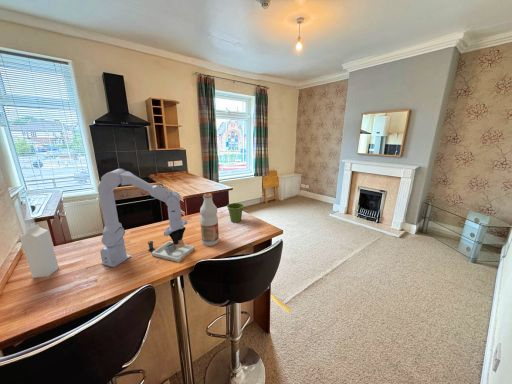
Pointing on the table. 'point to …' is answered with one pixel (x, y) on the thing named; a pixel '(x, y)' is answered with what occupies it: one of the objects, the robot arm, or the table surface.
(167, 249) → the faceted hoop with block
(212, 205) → the fruit juice
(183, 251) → the tray
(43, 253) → the milk
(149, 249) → the knob
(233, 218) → the plant pot
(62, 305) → the table surface
